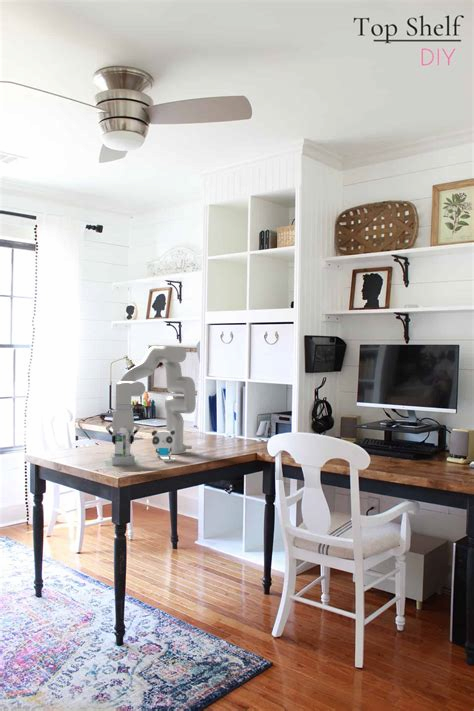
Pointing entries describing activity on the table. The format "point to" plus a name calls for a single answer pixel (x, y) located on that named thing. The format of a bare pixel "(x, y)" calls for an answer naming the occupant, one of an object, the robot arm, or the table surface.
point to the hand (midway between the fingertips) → (122, 443)
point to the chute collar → (122, 459)
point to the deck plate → (108, 463)
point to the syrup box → (122, 442)
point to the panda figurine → (163, 444)
